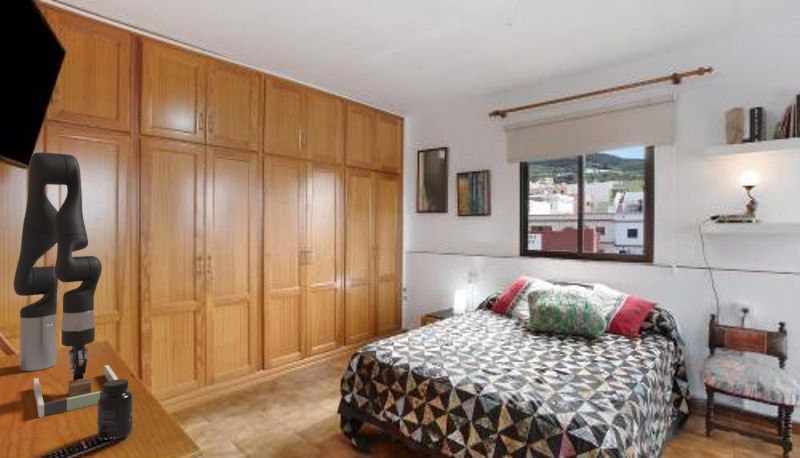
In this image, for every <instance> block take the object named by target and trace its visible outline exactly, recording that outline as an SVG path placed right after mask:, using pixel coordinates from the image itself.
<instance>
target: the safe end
mask: <svg viewBox="0 0 800 458" xmlns="http://www.w3.org/2000/svg"><path fill="white" fill-rule="evenodd" d="M100 391H101V390H99V391H95V392H91V393H89V394H85V395H80V396H75V397H71V398H68V397H67V411H66V412H70V411H75V410H77V409H78V410H79V409H83V408H87V407H91V406H96V405H98V400H99V398H100Z"/></svg>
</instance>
